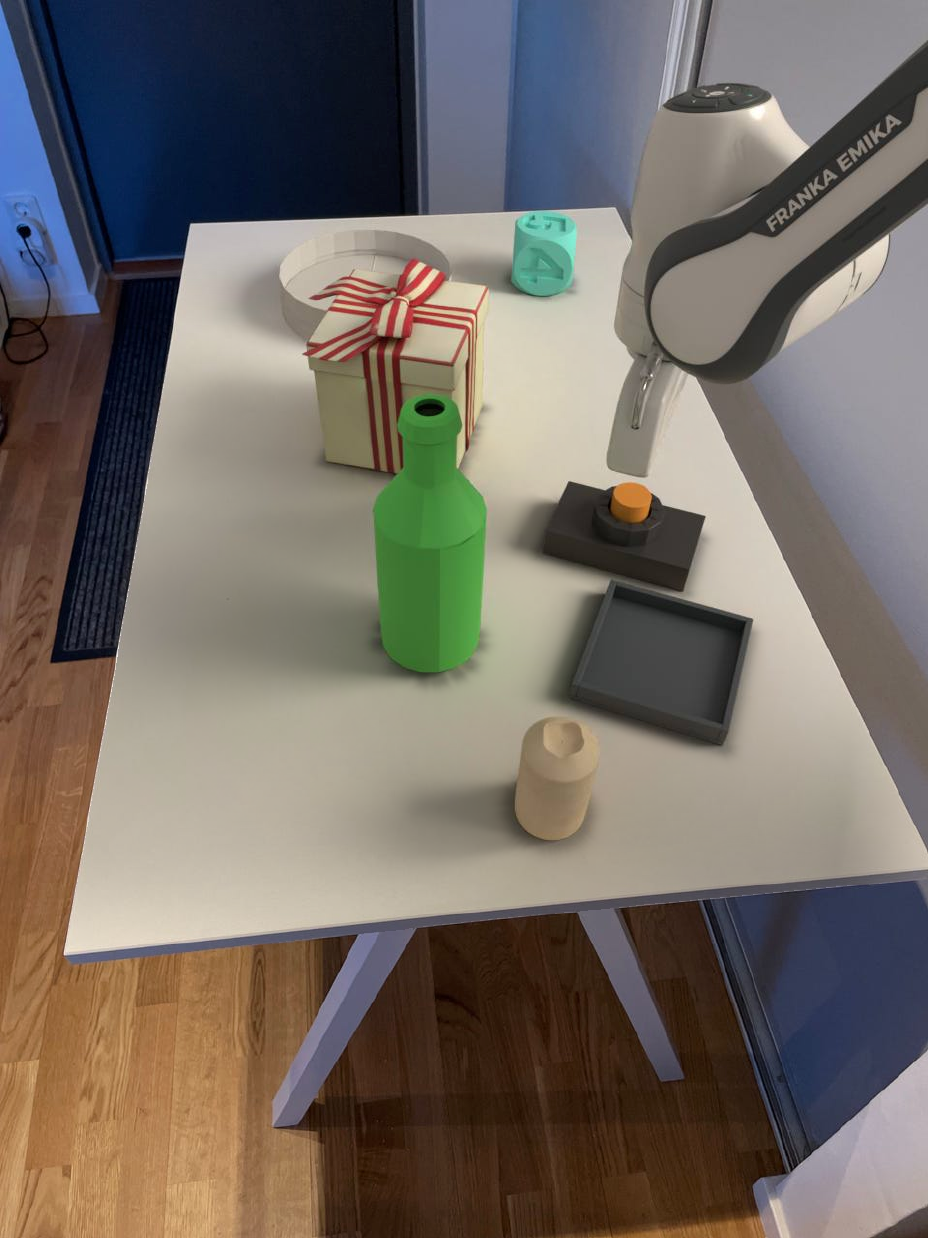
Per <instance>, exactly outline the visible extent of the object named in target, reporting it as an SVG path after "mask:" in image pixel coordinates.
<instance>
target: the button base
mask: <svg viewBox="0 0 928 1238" xmlns="http://www.w3.org/2000/svg"><path fill="white" fill-rule="evenodd" d="M617 486H618V485H612V486H610V487H609V488H607V489H602V488H599V487H595V486H590V485H586V484H584V483H583V484H582V483H579V482H574V481H571V480H568V481H567V484H566V486H565V488H564V490H563V492H562V494H561V496H560V498H559V500H558V503H557V505H556V507H555V509H554V511H553V513H552V516H551V518H550V520H549V522H548V524H547V526H546V528H545V531H544V539H543V547H542V553H543V554H546V555H549V556H553V557H556V558H560V559H563V560H567V561H571V562H575V563H578V564H582V565H585V566H589V567H593V568H596V569H600V570H604V571H607V572H611V573H614V574H618V575H621V576H625V577H629V578H632V579H636V580H640V581H642V582H647V583H651V584H654V585H657V586H662V587H664V588H668V589H672V590H676V591H679V592H684V591H685V587H686V584H687V582H688V581H687V580H688V577H689V573H690V570H691V568H692V564H693V561H694V557H695V554H696V550H697V547H698V544H699V540H700V536H701V533H702V530H703V528H704V523H705V520H706V515H703V514H699V513H696V512H691V511H688V510H683V509H679V508H676V507H672V506H668V505H664V504H663V503H662V501H661V499H660V498H659V497H658V496H656V495H655V494H654V493H652V492H651V491H650V493H651V496H652V499H651V503H650V507H649V512H648V516H647V517H646V519H645V520H643V521H642V522H634V523H628V522H624V521H621V520H618V519H617V518H615V517H614V516H613V515H612V513H611V511H610V507H611V502H612V496H613V491H614V489H615V488H616V487H617Z"/></svg>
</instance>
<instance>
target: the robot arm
mask: <svg viewBox="0 0 928 1238" xmlns="http://www.w3.org/2000/svg"><path fill="white" fill-rule="evenodd" d="M644 141H645V142H644V145H643V148H642V153H641V157H640V160H639V161H640V162H639V166H638V171H637V175H636V181H635V186H634V191H633V197H632V204H631V210H630V211H631V212H630V225H631V233H632V240H631V245H630V248H629V251H628V253H627V255H626V257H625V259H624V262H623V266H622V270H621V276H620V283H619V290H618V296H617V303H616V309H615V316H614V321H613V330H614V332H615V335H616V337H617V339H618V340H619V341H620V342H621V343H622V344H623V345H624V346H625V348H626V351H627V353H628V355H629V356H630V357H631V358H632V360H633V361H632V364H631V366H630V368H629V370H628V372H627V374H626V377H625V378H624V381H623V383H622V386H621V390H620V393H619V396H618V399H617V403H616V408H615V412H614V417H613V420H612V421H613V422H612V425H611V426H612V427H611V432H610V435H609V436H610V438H609V442H608V446H607V452H606V460H605V461H606V467H607V468H608V469H609V470H610V471H613V472H615V473H619V474H624V475H626V476H632V477H635V478H642V479H645V478H647V477H649V476H650V475H651V472H652V470H653V468H654V466H655V463H656V460H657V457H658V454H659V452H660V449H661V447H662V444H663V442H664V439H665V436H666V434H667V431H668V429H669V426H670V423H671V421H672V418H673V415H674V413H675V410H676V407H677V404H678V403H679V400H680V397H681V395H682V392H683V389H684V386H685V384H686V382H687V379H688V376H689V375H690V376H692V377H694V378H696V379H699V380H701V381H704V382H706V383H710V384H715V385H734V384H738V383H740V382H743V381H745V380H747V379H748V378H750V377H752V376H753V375H754V374H756V373H757V372H758V371H759V370H761V369H762V368H763V367H764V366H766V365H767V364H768V363H769V362H771V360H773V359H774V358H775V357H776V356H777V355H778V354H779V353H780V352H782V351H783V350H785V349H787V348H788V347H789V346H791V345H792V344H794V343H795V342H797V341H799V340H800V339H802V338H803V337H804V336H806V335H807V334H808V333H810V332H812V331H813V330H815V329H816V328H817V327H819V326H821V325H822V324H824V323H825V322H826V321H829V319H831V318H832V317H834V316H835V315H837V314H838V313H839V312H842V311H843V310H844V309H846V308H847V307H849V305H851V304H852V303H854V302H855V301H856V300H858V299H859V298H860V297H862V296H863V295H864V294H866V293H867V292H868V291H869V290H870V289H871V288H872V287H873V286H874V285H875V284H876V283H877V281H878V280H879V278H880V277H881V275H882V273H883V271H884V269H885V266H886V264H887V262H888V258H889V253H890V248H891V234H892V233H893V232H894V231H896V230H897V229H898V228H899V227H901V226H903V224H905V223H906V222H907V221H908V220H910V219H911V218H913V217H914V216H916V215H917V214H919V213H920V212H921V211H922V210H923V209H925V208H926V207H928V35H927V36H926V37H925V38H924V39H923V40H922V41H921V42H920V43H919V45H917V47H916V48H915V49H914V50H912V52H911V53H910V54H909V55H908V56H907V57H906V58H905V59H904V60H903V61H902V62H901V63H900V65H899V66H897V67H896V68H895V69H894V70H893V71H892V72H891V73H889V75H888V76H887V77H885V78H884V79H883V80H882V81H881V82H880V83H879V84H877V86H876V87H874V88H873V89H872V90H871V91H870V92H869V93H867V95H866V96H865V97H864V98H862V99H861V101H859V102H858V103H857V104H856V105H855V106H854V107H853V108H852V109H850V111H848V113H846V114H845V115H844V116H843V117H842V118H840V120H839V121H837V122H836V123H835V124H834V125H832V127H831V128H830V129H829V130H827V131H826V132H825V133H824V134H822V136H820V137H819V138H818V139H817V140H816V141H815V142H814V143H813V144H811V145H810V146H809V145H808V144H807V143H806V142H805V141H804V140H803V139H801V138H800V136H799V135H798V134H797V133H796V132H795V131H794V130H793V129H792V127H791V126H790V125H789V123H788V122H787V120H786V118H785V116H784V115H783V112H782V110H781V108H780V105H779V103H778V101H777V99H776V97H775V96H774V95H773V94H772V93H771V92H769V91H768V90H767V89H763V88H761V87H760V86H758V85H754V84H750V83H749V84H748V83H741V82H740V83H739V82H720V83H716V84H707V85H706V84H705V85H704V84H703V85H701V86H697V87H693V88H690V89H688V90H686V91H683V92H680V93H679V94H677V95H674V96H672V97H671V98H669V99H667V100H666V102H664V103H663V104H662V105H660V107H659V108H658V109H657V112H656V113H655V115H654V117H653V119H652V122H651V124H650V127H649V129H648V132H647V135H646V138H645V140H644Z"/></svg>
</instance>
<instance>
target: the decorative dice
mask: <svg viewBox="0 0 928 1238" xmlns="http://www.w3.org/2000/svg"><path fill="white" fill-rule="evenodd" d="M514 223H515V224H514V225H515V226H514V238H513V239H514V240H513V249H512V250H513V251H512V263H511V265H512V266H511V281H510V282H511V283H512V284H513V286H515V288H517V289H518V290H519V291H520V292H523V293H525V294H528V295H531V296H538V297H551V296H555V295H559V294H561V293H563V292H565V291H566V290H568V289H569V287H571V286H572V282H573V278H574V277H573V276H574V270H575V263H576V262H575V261H576V252H577V251H576V250H577V237H578V236H577V235H578V233H577V232H578V227H577V226H578V225H577V223H576V222H575V221H574V220H573V218H571V217H570V216H568V215H566V214H564V213H560V212H556V211H552V210H535V211H530V212H527V213H524V214H522V215H521V216H519V217H518V218H517V219H516V220H515V222H514Z"/></svg>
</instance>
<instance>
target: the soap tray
mask: <svg viewBox="0 0 928 1238" xmlns="http://www.w3.org/2000/svg"><path fill="white" fill-rule="evenodd" d="M753 624H754V618H751V617H747V616H745V615H741V614H737V613H735V612H731V611H727V610H724V609H720V608H716V607H713V606H709V605H706V604H702V603H699V602H695V601H691V600H689V599H688V600H687V599H684V598H680V597H676V596H673V595H669V594H665V593H663V592H658V591H655V590H651V589H648V588H644V587H640V586H637V585H633V584H629V583H626V582H622V581H619V580H616V579H610V581H609V584H608V586H607V589H606V592H605V594H604V596H603V600H602V602H601V605H600V607H599V610H598V613H597V615H596V618H595V621H594V624H593V626H592V628H591V632H590V635H589V636H588V639H587V642H586V645H585V647H584V650H583V653H582V654H581V655H582V656H581V659H580V660H579V664H578V666H577V669H576V671H575V674H574V676H573V679H572V681H571V685H570V691H569V696H568V698H569V699H571V700H574V701H577V702H581V703H584V704H587V705H591V706H593V707H597V708H600V709H603V710H607V711H610V712H613V713H616V714H619V715H623V716H626V717H629V718H633V719H636V720H639V721H642V722H646V723H648V724H653V725H655V726H658V727H662V728H665V729H668V730H671V731H675V732H678V733H681V734H684V735H687V736H691V737H693V738H696V739H697V738H698V739H700V740H703V741H707V742H710V743H713V744H716V745H720V746H724V744H725V741H726V740H727V736H728V735H729V733H730V728H731V724H732V723H731V722H732V718H733V715H734V709H735V704H736V700H737V696H738V691H739V686H740V682H741V677H742V673H743V670H744V669H743V668H744V664H745V660H746V655H747V650H748V646H749V641H750V637H751V632H752V628H753Z"/></svg>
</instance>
